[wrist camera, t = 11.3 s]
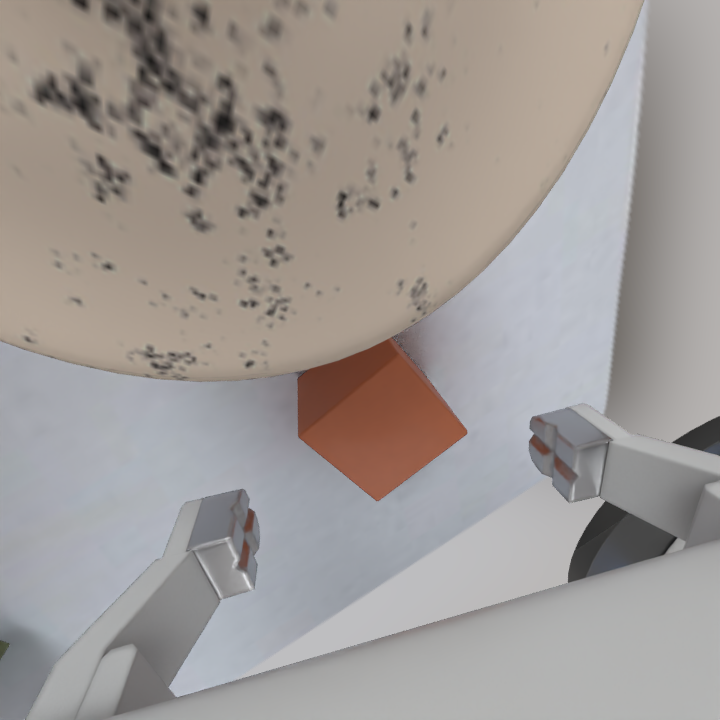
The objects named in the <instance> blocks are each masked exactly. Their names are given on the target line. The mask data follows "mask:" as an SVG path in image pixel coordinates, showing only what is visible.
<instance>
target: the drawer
mask: <svg viewBox="0 0 720 720" xmlns="http://www.w3.org/2000/svg"><path fill="white" fill-rule="evenodd" d="M8 647H9V643H6V642H3V641H0V659H1V658H2V656H3V655H4V653H5V652H6V650H7V648H8Z"/></svg>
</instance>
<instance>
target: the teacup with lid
mask: <svg viewBox="0 0 720 720" xmlns="http://www.w3.org/2000/svg"><path fill="white" fill-rule="evenodd" d="M643 2H644V0H0V341H2V342H5V343H8V344H10V345H13V346H16V347H19V348H21V349H24V350H28V351H31V352H34V353H38V354H41V355H45V356H48V357H51V358H55V359H58V360H62V361H65V362H69V363H72V364H76V365H81V366H86V367H90V368H95V369H100V370H104V371H109V372H114V373H118V374H126V375H133V376H140V377H147V378H155V379H164V380H181V381H199V382H203V381H238V380H248V379H257V378H266V377H274V376H279V375H284V374H289V373H294V372H299V371H304V370H308V369H311V368H315V367H318V366H321V365H325V364H328V363H332V362H335V361H338V360H341V359H343V358H346V357H349V356H351V355H354V354H356V353H359V352H361V351H364V350H366V349H369V348H371V347H373V346H375V345H377V344H379V343H381V342H383V341H385V340H387V339H389V338H391V337H393V336H395V335H397V334H399V333H401V332H402V331H404V330H406V329H407V328H409V327H410V326H412V325H414V324H415V323H417V322H419V321H420V320H422V319H423V318H425V317H427V316H428V315H430V314H431V313H432V312H434V311H435V310H436V309H438V308H439V307H440V306H442V305H443V304H445V303H446V302H447V301H449V300H450V299H451V298H453V297H454V296H455V295H457V294H458V293H459V292H460V291H461V290H462V289H463V288H465V287H466V286H467V285H468V284H469V283H470V282H471V281H472V280H474V279H475V278H476V277H477V276H478V275H479V274H480V273H481V272H483V271H484V270H485V269H486V268H487V267H488V265H489V264H490V263H491V262H492V261H493V260H494V259H495V258H496V257H497V256H498V255H499V254H500V253H501V252H502V251H503V250H504V249H505V248H506V247H507V246H508V245H509V244H510V242H511V241H512V240H513V239H514V238H515V236H516V235H517V234H518V233H519V231H520V230H521V229H522V228H523V227H524V225H525V224H526V223H527V222H528V220H529V219H530V218H531V217H532V215H533V214H534V213H535V212H536V211H537V209H538V208H539V206H540V205H541V204H542V202H543V201H544V199H545V198H546V196H547V195H548V193H549V192H550V191H551V189H552V188H553V186H554V185H555V183H556V182H557V181H558V179H559V178H560V176H561V175H562V173H563V172H564V170H565V168H566V167H567V165H568V163H569V162H570V160H571V158H572V156H573V155H574V153H575V151H576V150H577V148H578V146H579V145H580V143H581V141H582V140H583V138H584V136H585V134H586V133H587V131H588V129H589V127H590V125H591V123H592V121H593V120H594V118H595V116H596V114H597V112H598V110H599V108H600V106H601V104H602V102H603V100H604V98H605V96H606V94H607V92H608V90H609V88H610V86H611V84H612V81H613V79H614V76H615V74H616V72H617V69H618V67H619V65H620V62H621V60H622V57H623V55H624V53H625V50H626V48H627V46H628V43H629V41H630V38H631V36H632V34H633V31H634V28H635V25H636V22H637V20H638V17H639V14H640V11H641V8H642V5H643Z"/></svg>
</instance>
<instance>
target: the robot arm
mask: <svg viewBox="0 0 720 720" xmlns="http://www.w3.org/2000/svg"><path fill="white" fill-rule="evenodd" d="M530 430H531V431H532V432H533V433H534V435H533V436H532V438H531V439H530V441H529V452H530V456H531V459H532V461H533V463H534V464H535V466H536V467H537V469H538V470H539V471H540V472H541V473H542V474H544V475H547V476H549V477H552V484H553V486H554V487H555V488H556V490H557V491H558V492H559V493H560V494H561V495H562V496H563V497H564V498H565V499H566V500H567V501H568V502H569V503H573V502H577V501H582V500H585V499H590V498H594V497H598V496H600V498H601V499H603V500H605V501H607V502H609V503H611V504H613V505H615V506H617V507H619V508H621V509H623V510H625V511H627V512H629V513H631V514H633V515H635V516H637V517H638V518H640V519H642V520H644V521H646V522H648V523H650V524H652V525H654V526H656V527H658V528H660V529H662V530H664V531H666V532H668V533H670V534H672V535H674V536H676V537H677V539H676V540H675V541H674V542H673V544H672V545H671V546H670V547H669V549H668V550H667V551H666V553H665V554H664V555H662V556H658V557H655V558H651V559H648V560H644V561H641V562H638V563H634V564H631V565H627V566H624V567H621V568H617V569H614V570H610V571H607V572H604V573H600V574H597V575H593V576H590V577H587V578H583V579H580V580H576V581H573V582H570V583H566V584H563V585H559V586H556V587H553V588H549V589H546V590H543V591H539V592H536V593H532V594H529V595H525V596H522V597H519V598H515V599H512V600H508V601H505V602H502V603H498V604H495V605H492V606H488V607H485V608H481V609H478V610H474V611H471V612H467V613H464V614H461V615H457V616H454V617H451V618H447V619H444V620H440V621H437V622H433V623H430V624H426V625H423V626H420V627H416V628H413V629H410V630H406V631H403V632H399V633H396V634H392V635H389V636H386V637H382V638H379V639H375V640H372V641H368V642H365V643H362V644H358V645H355V646H351V647H348V648H344V649H341V650H338V651H335V652H331V653H327V654H324V655H321V656H317V657H314V658H310V659H307V660H303V661H300V662H297V663H293V664H290V665H286V666H283V667H280V668H276V669H273V670H269V671H266V672H263V673H259V674H256V675H253V676H249V677H245V678H242V679H239V680H235V681H232V682H228V683H225V684H221V685H218V686H215V687H211V688H208V689H204V690H201V691H198V692H194V693H191V694H187V695H184V696H180V697H176V696H175V695H174V694H173V692H172V691H171V690H170V689H169V686H170V684H171V682H172V681H173V679H174V677H175V676H176V674H177V672H178V671H179V669H180V667H181V666H182V664H183V663H184V661H185V659H186V658H187V656H188V654H189V653H190V651H191V649H192V648H193V646H194V644H195V643H196V641H197V640H198V638H199V636H200V635H201V633H202V631H203V630H204V628H205V626H206V625H207V623H208V621H209V620H210V618H211V617H212V615H213V613H214V612H215V610H216V608H217V607H218V605H219V603H220V600H221V599H225V598H228V597H231V596H235V595H238V594H241V593H244V592H248V591H251V590H254V589H255V582H256V573H257V562H256V559H255V557H254V555H255V553H256V552H257V550H258V549H259V544H260V531H259V524H258V519H257V516H256V514H255V511H253V510H251V509H250V508H248V507H249V500H250V499H249V497H248V495H247V493H246V490H244V489H240V490H235V491H231V492H226V493H222V494H217V495H213V496H209V497H205V498H201V499H197V500H192V501H188V502H185V503H184V504H183V505H182V507H181V509H180V512H179V514H178V517H177V520H176V522H175V525H174V527H173V530H172V533H171V535H170V538H169V541H168V543H167V546H166V549H165V551H164V554H163V556H162V558H160V559H156V560H155V561H154V562H153V563H152V564H151V565H150V566H149V567H148V568H147V569H146V570H145V571H144V572H143V573H142V574H141V575H140V576H139V577H138V578H137V579H136V580H135V581H134V582H133V583H132V584H131V585H130V586H129V588H128V589H127V590H126V591H125V592H124V593H123V594H122V595H121V596H120V597H119V598H118V599H117V600H116V601H115V602H114V603H113V604H112V605H111V606H110V607H109V608H108V609H107V610H106V611H105V612H104V613H103V614H102V615H101V616H100V617H99V618H98V619H97V620H96V621H95V622H94V623H93V624H92V625H91V626H90V627H89V628H88V629H87V630H86V632H85V633H84V634H83V635H82V636H81V637H80V638H79V639H78V640H77V641H76V642H75V643H74V644H73V645H72V646H71V647H70V648H69V649H68V650H67V651H66V652H65V653H64V654H63V655H62V656H61V657H60V658H59V659H58V660H57V661H56V662H55V664H54V666H53V667H52V669H51V671H50V673H49V675H48V677H47V679H46V681H45V683H44V685H43V686H42V688H41V690H40V692H39V694H38V696H37V698H36V700H35V702H34V704H33V705H32V707H31V709H30V711H29V713H28V715H27V717H26V719H25V720H720V456H718V455H714V454H711V453H707V452H703V451H700V450H696V449H692V448H688V447H685V446H681V445H677V444H674V443H670V442H666V441H663V440H659V439H655V438H652V437H647V436H644V435H640V434H637V435H632V434H630V433H629V432H628V431H626V430H624V429H623V428H622V427H620V426H619V425H617V424H616V423H614V422H613V421H611V420H610V419H609V418H607V417H606V416H604V415H603V414H601V413H600V412H598V411H597V410H595V409H594V408H592V407H591V406H589V405H587V404H583V403H581V404H578V405H574V406H570V407H567V408H565V409H560V410H556V411H552V412H549V413H545V414H541V415H537V416H533V417H532V418H531V420H530Z"/></svg>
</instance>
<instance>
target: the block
mask: <svg viewBox="0 0 720 720" xmlns="http://www.w3.org/2000/svg"><path fill="white" fill-rule="evenodd" d="M466 434H467V430H466V428H465V427H464V426H463V425H462V423H461V422H460V421H459V419H458V418H457V417H456V415H455V414H454V413H453V411H452V410H451V409H450V407H449V406H448V405H447V403H446V402H445V401H444V399H443V398H442V397H441V395H440V394H439V393H438V392H437V390H436V389H435V388H434V386H433V385H432V384H431V382H430V381H429V380H428V378H427V377H426V376H425V375H424V374H423V373H422V372H421V370H420V369H419V368H418V367H417V366H416V365H415V363H414V362H413V361H412V360H411V359H410V358H409V356H408V355H407V354H406V353H405V352H404V351H403V350H402V348H401V347H400V346H399V345H398V344H397V343H396V341H395V340H394V339H393V338H392V337H391V338H389V339H387V340H385V341H383V342H381V343H379V344H377V345H375V346H373V347H371V348H369V349H366V350H364V351H361V352H359V353H356V354H354V355H351V356H349V357H346V358H343V359H341V360H338V361H335V362H332V363H328V364H325V365H321V366H318V367H315V368H311V369H309V370H307V371H306V372H305V373H304V374H303V375H302V376H300V377H299V378H298V437H299V438H300V439H301V440H303V441H304V442H305V443H306V444H307V445H309V446H310V447H311V448H312V449H314V450H315V451H316V452H317V453H318V454H320V455H321V456H322V457H323V458H325V459H326V460H327V461H328V462H329V463H331V464H332V465H333V466H334V467H336V468H337V469H338V470H339V471H340V472H342V473H343V474H344V475H345V476H347V477H348V478H349V479H350V480H351V481H353V482H354V483H355V484H356V485H358V486H359V487H360V488H361V489H362V490H364V491H365V492H366V493H367V494H369V495H370V496H371V497H372V498H373V499H375V500H376V501H379V500H380V499H382V498H383V497H384V496H386V495H387V494H388V493H390V492H391V491H392V490H394V489H395V488H396V487H398V486H399V485H400V484H402V483H403V482H404V481H406V480H407V479H408V478H410V477H411V476H412V475H413V474H415V473H416V472H417V471H419V470H420V469H421V468H423V467H424V466H425V465H427V464H428V463H429V462H431V461H432V460H433V459H435V458H436V457H437V456H439V455H440V454H441V453H443V452H444V451H445V450H447V449H448V448H449V447H450V446H452V445H453V444H454V443H456V442H457V441H458V440H460V439H461V438H462V437H464V436H465V435H466Z"/></svg>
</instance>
